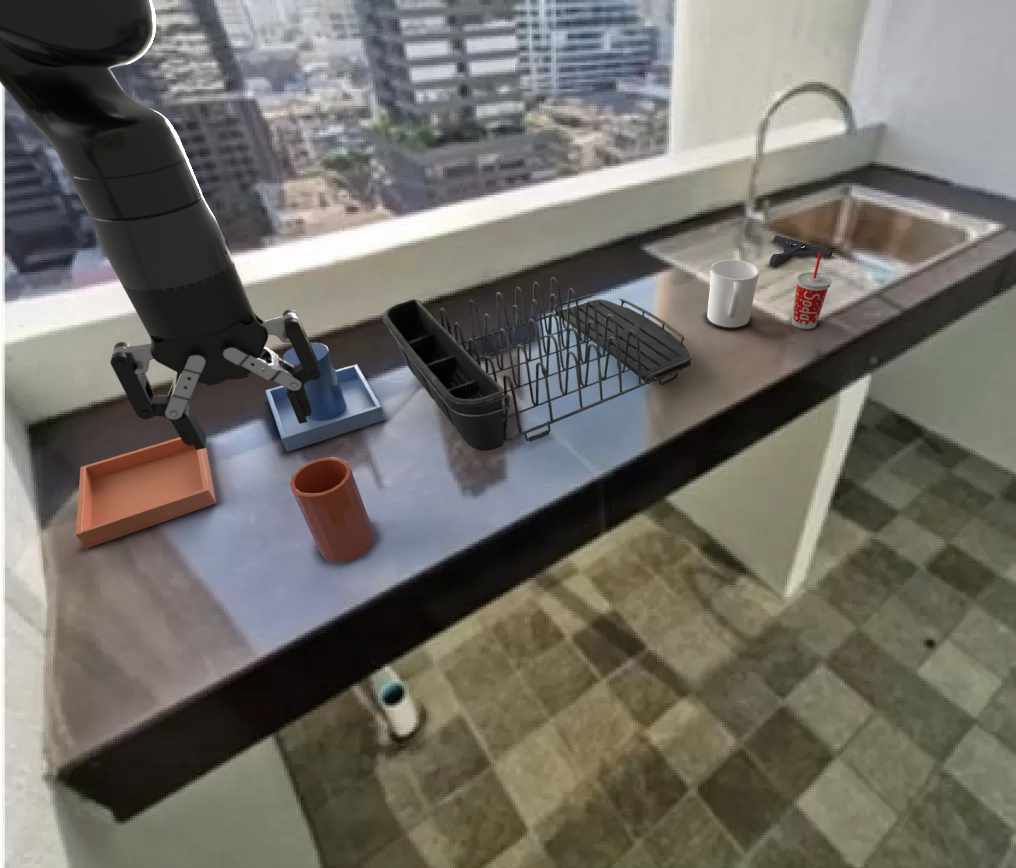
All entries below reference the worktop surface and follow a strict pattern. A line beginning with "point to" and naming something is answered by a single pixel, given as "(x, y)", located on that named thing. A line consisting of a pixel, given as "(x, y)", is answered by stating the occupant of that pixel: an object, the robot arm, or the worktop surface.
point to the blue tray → (355, 416)
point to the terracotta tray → (141, 490)
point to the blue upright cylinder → (322, 385)
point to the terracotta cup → (333, 509)
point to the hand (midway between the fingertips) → (253, 430)
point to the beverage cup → (809, 297)
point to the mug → (731, 293)
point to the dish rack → (479, 397)
